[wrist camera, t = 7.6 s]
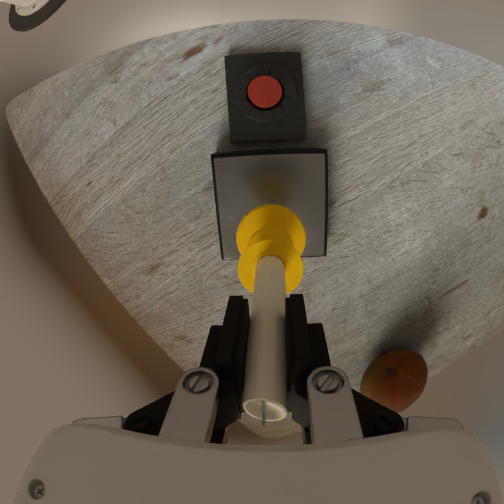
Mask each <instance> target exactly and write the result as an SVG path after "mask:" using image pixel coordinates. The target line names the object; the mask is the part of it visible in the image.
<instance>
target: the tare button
mask: <svg viewBox="0 0 504 504" xmlns="http://www.w3.org/2000/svg"><path fill="white" fill-rule="evenodd" d="M248 95H249V98H250V99H251V101H252V102H253V103H254V104H255V105H256V106H258V107H260V108H270V107H273V106H275V105H276V104H277V103H278V102H279V101H280V99H281V95H282V87H281V85H280V83H279V82H278V81H277V80H276V79H275V78H273V77H271V76H259V77H256V78H255V79H253V80H252V81H251V83H250V84H249V87H248Z"/></svg>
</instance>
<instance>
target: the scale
mask: <svg viewBox="0 0 504 504" xmlns="http://www.w3.org/2000/svg"><path fill="white" fill-rule="evenodd" d="M211 162H212V173H213V183H214V193H215V203H216V213H217V222H218V231H219V240H220V249H221V257H222V260H227V259H239V258H240V256H241V254H240V252H239V250H238V246H237V243H236V233H237V230H238V226H239V224H240V222H241V220H242V219H243V217H244V216H245V215H246V214H247V213H248V212H249V211H250V210H252V209H254V208H256V207H258V206H262V205H267V204H275V205H280V206H284V207H287V208H288V209H290V210H291V211H293V212H294V213H295V214H296V215H297V216H298V217H299V218H300V219H301V221H302V223H303V225H304V228H305V232H306V246H305V248H304V251H303V253H302V255H301V257H319V256H326V251H327V220H328V157H327V149H324V148H286V149H261V150H244V151H230V152H218V153H214V154H211Z"/></svg>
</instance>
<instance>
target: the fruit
mask: <svg viewBox="0 0 504 504" xmlns="http://www.w3.org/2000/svg"><path fill="white" fill-rule="evenodd" d="M427 375H428V371H427V366H426V362H425V360H424V359H423V357H422V356H421V355H420V354H419V353H417V352H414V351H410V350H395V351H391V352H388V353H386V354H384V355H382V356H380V357H379V358H377V359H376V360H375V361H374V362H373V363H372V364H371V365H370V366H369V367H368V368H367V370H366V371H365V373H364V375H363V378H362V381H361V387H360V393H361V394H363V395H364V396H366V397H368V398H370V399H372V400H374V401H376V402H377V403H379V404H381V405H383V406H385V407H387V408H389V409H391V410H393V411H395V412H396V413H399V412H401V411H403V410H405V409H407V408H408V407H409V406H410V405H412V404H413V403H414V402H415V401H416V400H417V399H418V398H419V396H420V395H421V393H422V392H423V390H424V387H425V384H426V381H427Z"/></svg>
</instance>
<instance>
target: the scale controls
mask: <svg viewBox="0 0 504 504" xmlns="http://www.w3.org/2000/svg"><path fill="white" fill-rule="evenodd" d="M225 71H226V86H227V100H228V114H229V127H230V141H231V143H235V142H249V141H267V140H303V139H306V121H305V104H304V89H303V76H302V65H301V54H300V52H270V53H252V54H240V55H230V56H225ZM259 76H271V77H273V78H275V79H276V80H277V81H278V82H279V83H280V85H281V87H282V95H281V99H280V101H279V102H278V103H277V104H276V105H275V106H273V107H270V108H260V107H258V106H256V105H255V104H254V103H253V102H252V101H251V99H250V98H249V95H248V87H249V84H250V83H251V81H252V80H253V79H255V78H256V77H259Z"/></svg>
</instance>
